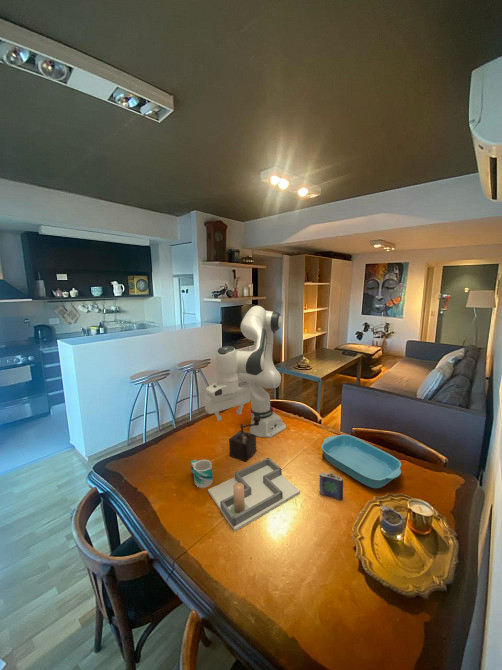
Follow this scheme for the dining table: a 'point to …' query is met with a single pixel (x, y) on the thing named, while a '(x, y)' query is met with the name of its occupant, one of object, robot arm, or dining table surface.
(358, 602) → the dining table surface
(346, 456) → the casserole dish
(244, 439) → the coffee grinder
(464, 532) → the dining table surface
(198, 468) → the mug
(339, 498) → the flask
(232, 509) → the pad
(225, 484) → the channel
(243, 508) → the peg
